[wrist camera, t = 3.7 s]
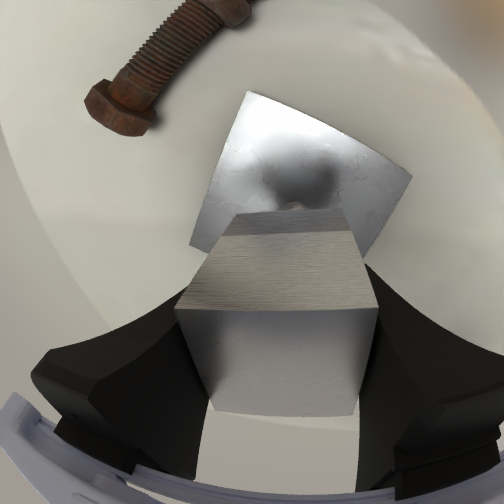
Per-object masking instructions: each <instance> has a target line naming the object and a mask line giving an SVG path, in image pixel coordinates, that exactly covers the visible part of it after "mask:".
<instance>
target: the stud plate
mask: <svg viewBox="0 0 504 504" xmlns="http://www.w3.org/2000/svg"><path fill="white" fill-rule="evenodd" d="M411 178H412V175H411V174H409V173H408V172H407V171H405V170H404V169H402V168H401V167H399V166H398V165H396V164H394V163H393V162H391V161H390V160H388V159H387V158H385V157H383V156H382V155H380V154H379V153H377V152H375V151H374V150H372V149H370V148H369V147H367V146H365V145H363V144H362V143H360V142H358V141H356V140H355V139H353V138H351V137H349V136H347V135H346V134H344V133H342V132H340V131H338V130H336V129H334V128H332V127H330V126H328V125H326V124H324V123H322V122H320V121H318V120H316V119H314V118H312V117H310V116H308V115H306V114H304V113H301V112H299V111H297V110H295V109H292V108H290V107H288V106H285V105H283V104H281V103H278V102H276V101H273V100H271V99H268V98H266V97H263V96H261V95H258V94H256V93H253V92H250V91H247V93H246V96H245V98H244V100H243V103H242V105H241V107H240V109H239V112H238V114H237V117H236V119H235V121H234V124H233V126H232V129H231V131H230V133H229V136H228V138H227V141H226V143H225V146H224V148H223V151H222V154H221V156H220V159H219V161H218V164H217V167H216V169H215V172H214V175H213V177H212V180H211V183H210V185H209V188H208V191H207V194H206V196H205V199H204V202H203V205H202V208H201V211H200V213H199V216H198V219H197V222H196V225H195V228H194V231H193V234H192V237H191V240H190V243H189V245H190V246H193V247H195V248H197V249H199V250H201V251H203V252H206V253H208V254H209V253H210V252H211V250H212V249H213V247H214V246H215V244H216V243H217V241H218V240H219V238H220V237H221V235H222V234H223V232H224V231H225V229H226V228H227V226H228V225H229V224H230V222H231V221H232V219H233V218H234V216H235V215H236V214H240V213H254V212H270V211H288V210H309V209H334V208H342V209H343V212H344V214H345V216H346V219H347V221H348V224H349V226H350V229H351V231H352V234H353V236H354V239H355V241H356V244H357V246H358V249H359V252H360V254H361V257H362V259H363V258H364V256H365V255H366V253H367V252H368V250H369V248H370V247H371V245H372V244H373V242H374V241H375V239H376V238H377V236H378V234H379V233H380V231H381V230H382V228H383V226H384V225H385V223H386V222H387V220H388V218H389V217H390V215H391V213H392V212H393V210H394V208H395V207H396V205H397V203H398V201H399V200H400V198H401V196H402V195H403V193H404V191H405V189H406V187H407V186H408V184H409V182H410V180H411Z"/></svg>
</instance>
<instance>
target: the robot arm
mask: <svg viewBox="0 0 504 504" xmlns="http://www.w3.org/2000/svg"><path fill="white" fill-rule="evenodd" d="M364 265H365V268H366V271H367V273H368V276H369V279H370V282H371V285H372V288H373V291H374V294H375V297H376V300H377V303H378V306H379V309H378V315H377V320H376V325H375V330H374V335H373V340H372V345H371V349H370V354H369V358H368V362H367V366H366V370H365V374H364V378H363V381H362V385H361V388H360V392H359V409H360V437H359V460H358V470H357V480H356V489H355V493H345V494H329V495H287V494H269V493H260V492H251V491H243V490H235V489H230V488H224V487H218V486H213V485H208V484H204V483H199V482H194V481H193V480H194V479H195V477H196V468H197V461H198V454H199V447H200V441H201V436H202V430H203V425H204V420H205V415H206V411H207V406H208V402H209V396H208V394H207V392H206V389H205V387H204V385H203V382H202V380H201V378H200V375H199V373H198V371H197V368H196V366H195V363H194V361H193V358H192V356H191V353H190V351H189V348H188V346H187V343H186V341H185V338H184V335H183V333H182V330H181V327H180V324H179V322H178V319H177V316H176V313H175V310H174V307H175V306H176V304H177V302H178V301H179V299H180V298H181V296H182V295H183V293H184V291H185V290H186V288H187V287H188V286H187V287H186V288H184V289H183V290H182V291H180V292H179V293H177V294H176V295H175V296H173V297H172V298H170V299H169V300H167V301H166V302H164V303H163V304H161V305H160V306H158V307H157V308H155V309H154V310H152V311H150V312H149V313H147V314H145V315H144V316H142V317H140V318H138V319H136V320H134V321H132V322H130V323H128V324H126V325H124V326H122V327H120V328H117V329H115V330H113V331H111V332H109V333H106V334H104V335H101V336H98V337H95V338H92V339H90V340H86V341H83V342H80V343H76V344H72V345H68V346H64V347H60V348H56V349H51V350H49V351H48V352H47V353H46V354H45V355H44V357H43V358H42V359H41V360H40V362H39V363H38V364H37V365H36V367H35V368H34V369H33V370H32V372H31V379H32V382H33V383H34V385H35V386H36V388H37V389H38V390H39V392H40V393H41V394H42V395H43V396H44V397H45V399H46V400H47V401H48V402H49V403H50V404H51V405H52V406H53V407H54V408H55V409H56V410H57V411H58V412H59V413H60V414H61V415H62V418H61V419H60V421H59V423H58V424H57V425H56V424H55V423H53V422H51V421H50V420H48V419H47V418H45V417H43V416H42V415H41V413H40V412H39V411H38V410H37V409H36V408H35V407H34V406H33V405H32V404H31V403H30V402H29V401H27V400H26V399H25V398H23V397H22V396H21V395H19V394H18V393H17V392H13V393H12V395H11V396H10V397H9V399H8V400H7V402H6V403H5V404H4V406H3V407H2V409H1V410H0V447H1V449H2V450H3V451H4V452H5V454H6V455H7V456H8V457H9V458H10V460H11V461H12V463H13V464H14V465H15V466H16V468H17V469H18V470H19V471H20V472H21V474H22V475H23V476H24V477H25V479H26V480H27V481H28V482H29V483H30V484H31V485H32V487H33V488H34V489H35V490H36V491H37V492H38V493H39V494H40V495H41V496H42V497H43V498H44V499H45V500H46V501H47V502H48V503H49V504H164V503H162V502H160V501H158V500H156V499H154V498H152V497H150V496H148V495H147V494H145V493H143V492H141V491H138V490H136V489H134V488H131V487H129V486H128V485H127V483H126V481H127V482H129V483H131V484H134V485H136V486H139V487H141V488H144V489H146V490H149V491H152V492H155V493H158V494H160V495H164V496H166V497H170V498H173V499H176V500H179V501H183V502H187V503H190V504H504V450H503V451H501V452H499V450H498V446H497V442H496V440H498V439H499V438H500V436H501V432H500V429H499V425H500V424H501V423H502V422H503V421H504V356H503V355H500V354H497V353H494V352H491V351H488V350H486V349H484V348H481V347H479V346H477V345H475V344H473V343H470V342H468V341H466V340H464V339H462V338H460V337H458V336H457V335H455V334H453V333H451V332H450V331H448V330H446V329H444V328H443V327H441V326H440V325H438V324H436V323H435V322H433V321H432V320H431V319H429V318H428V317H426V316H425V315H423V314H422V313H421V312H419V311H418V310H417V309H415V308H414V307H413V306H412V305H410V304H409V303H408V302H407V301H405V300H404V299H403V298H402V297H401V296H400V295H398V294H397V293H396V292H395V291H394V290H393V289H392V288H391V287H390V286H389V285H387V284H386V283H385V282H384V281H383V280H382V279H381V278H380V277H379V276H378V275H377V274H376V273H375V272H374V271H373V270H372V269H371V268H370V267H369V266H368V265H367V264H364Z"/></svg>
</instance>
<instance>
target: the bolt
mask: <svg viewBox="0 0 504 504" xmlns="http://www.w3.org/2000/svg"><path fill="white" fill-rule="evenodd" d="M185 1H186V3H182V6H178V10H174V12H175V13H171V14H170V15H171V17H167V21H163V23H164V25H160V28H157V29H156V31H157V32H153V36H149V38H150V40H146V43H147V44H142V46H143V47H141V48H139V51H137V52H135V53H136V55H133V56H132V58H133V59H130V60H129V63H127V64H126V65H125V66H124V68H122V69H121V70H120V71H119V72H118V74H117V75H116V77H115V78H114V79H113V81H112V82H111V81H109V80H106V79H103V80H102V81H100V82H99V83H97V84H96V85H94V86H93V87H92V88H91V90H90V92H89V93H88V95H87V96H86V98H85V100H84V103H85V106H86V108H87V110H88V112H89V114H90V115H91V117H92V118H93V119H95V120H96V121H97V122H99V123H100V124H102V125H103V126H105V127H106V128H108V129H110V130H112V131H114V132H116V133H118V134H120V135H123V136H131V137H136V136H143V135H144V134H145V132H146V131H147V130H148V128H149V127H150V126H151V125H152V123H153V119H154V116H155V113H156V112H155V111H154V110H153V109H152V108H151V107H150V106H149V105H150V104H151V103H152V101H153V100H154V99H155V98H156V97H157V95H158V94H159V92H160V90H161V89H162V87H163V86H164V85H165V83H167V82H168V79H170V78H171V75H174V71H177V70H178V69H177V67H179V68H180V67H181V64H180V63H182V64H184V60H188V58H187V56H191V52H193V53H194V52H195V50H194V49H198V45H202V43H201V42H205V38H209V35H213V34H212V31H216V28H220V25H223V26H225V27H226V28H229V29H231V28H234V27H235V26H237V25H239V24H240V23H241V22H242V21H243V20H245V19H246V18H247V17H248V16H249V15H251V7H250V5H249V3H250V1H253V0H185Z"/></svg>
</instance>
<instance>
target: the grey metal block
mask: <svg viewBox="0 0 504 504" xmlns="http://www.w3.org/2000/svg"><path fill="white" fill-rule="evenodd" d="M378 309H379V306H378V303H377V300H376V297H375V294H374V291H373V288H372V285H371V282H370V279H369V276H368V273H367V271H366V268H365V265H364V262H363V260H362V257H361V254H360V252H359V249H358V246H357V244H356V241H355V239H354V236H353V234H352V231H351V229H350V226H349V224H348V221H347V219H346V216H345V214H344V212H343V209H342V208H334V209H309V210H288V211H270V212H254V213H240V214H236V215H235V216H234V218H233V219H232V221H231V222H230V224H229V225H228V226H227V228H226V229H225V231H224V232H223V234H222V235H221V237H220V238H219V240H218V241H217V243H216V244H215V246H214V247H213V249H212V250H211V252H210V253H209V255H208V256H207V258H206V259H205V261H204V262H203V264H202V265H201V267H200V268H199V270H198V271H197V273H196V275H195V276H194V278H193V279H192V281H191V282H190V284H189V285H188V287H187V288H186V290H185V291H184V293H183V295H182V296H181V298H180V299H179V301H178V302H177V304H176V306H175V307H174V310H175V313H176V316H177V319H178V322H179V324H180V327H181V330H182V333H183V335H184V338H185V341H186V343H187V346H188V348H189V351H190V353H191V356H192V358H193V361H194V363H195V366H196V368H197V371H198V373H199V375H200V378H201V380H202V382H203V385H204V387H205V389H206V392H207V394H208V396H209V398H210V401H211V403H212V405H213V407H214V409H215V411H222V412H230V413H239V414H250V415H263V416H283V417H329V416H348V415H353V411H354V408H355V405H356V402H357V399H358V395H359V392H360V388H361V385H362V381H363V378H364V374H365V370H366V366H367V362H368V358H369V354H370V349H371V345H372V340H373V335H374V330H375V325H376V320H377V315H378Z"/></svg>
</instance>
